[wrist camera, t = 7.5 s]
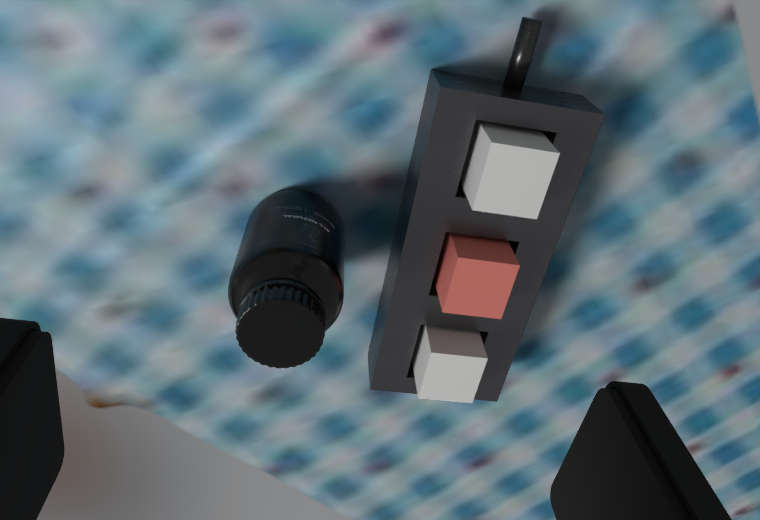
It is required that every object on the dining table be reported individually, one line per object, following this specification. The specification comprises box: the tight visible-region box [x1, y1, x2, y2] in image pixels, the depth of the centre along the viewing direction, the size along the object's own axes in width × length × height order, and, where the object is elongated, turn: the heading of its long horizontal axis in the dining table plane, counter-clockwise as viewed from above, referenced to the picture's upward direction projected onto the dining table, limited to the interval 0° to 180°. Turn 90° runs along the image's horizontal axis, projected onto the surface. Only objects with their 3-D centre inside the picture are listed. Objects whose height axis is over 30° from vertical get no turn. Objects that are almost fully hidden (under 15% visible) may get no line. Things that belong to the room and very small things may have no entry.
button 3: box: [412, 325, 488, 403], centre depth 45 cm, size 4×4×6 cm
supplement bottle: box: [228, 190, 345, 368], centre depth 38 cm, size 7×7×12 cm
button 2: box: [434, 232, 520, 319], centre depth 41 cm, size 4×4×6 cm
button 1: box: [460, 120, 560, 219], centre depth 37 cm, size 4×4×6 cm
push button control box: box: [368, 17, 605, 401], centre depth 41 cm, size 27×10×4 cm, turn 170°
